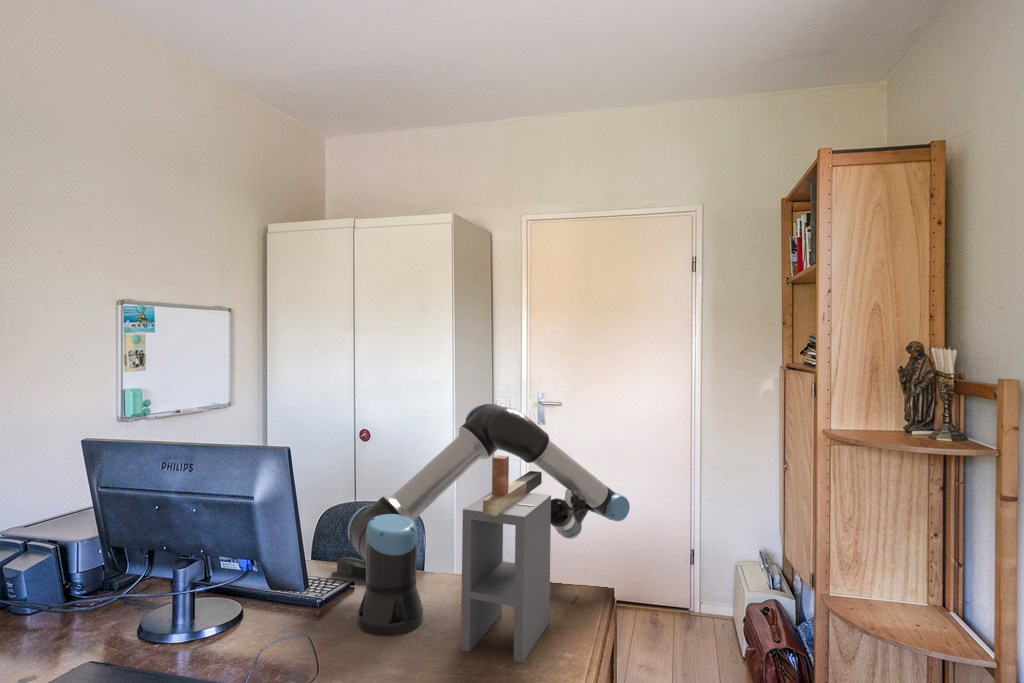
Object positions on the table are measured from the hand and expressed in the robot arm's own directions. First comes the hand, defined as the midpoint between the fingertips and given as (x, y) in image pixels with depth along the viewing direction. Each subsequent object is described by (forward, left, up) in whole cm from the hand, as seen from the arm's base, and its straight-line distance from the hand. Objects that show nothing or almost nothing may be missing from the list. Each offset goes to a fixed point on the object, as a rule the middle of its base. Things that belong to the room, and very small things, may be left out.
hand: (541, 492), depth 155 cm
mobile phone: (-51, -8, -27) cm, 58 cm away
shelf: (0, -24, -27) cm, 36 cm away
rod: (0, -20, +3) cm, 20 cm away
